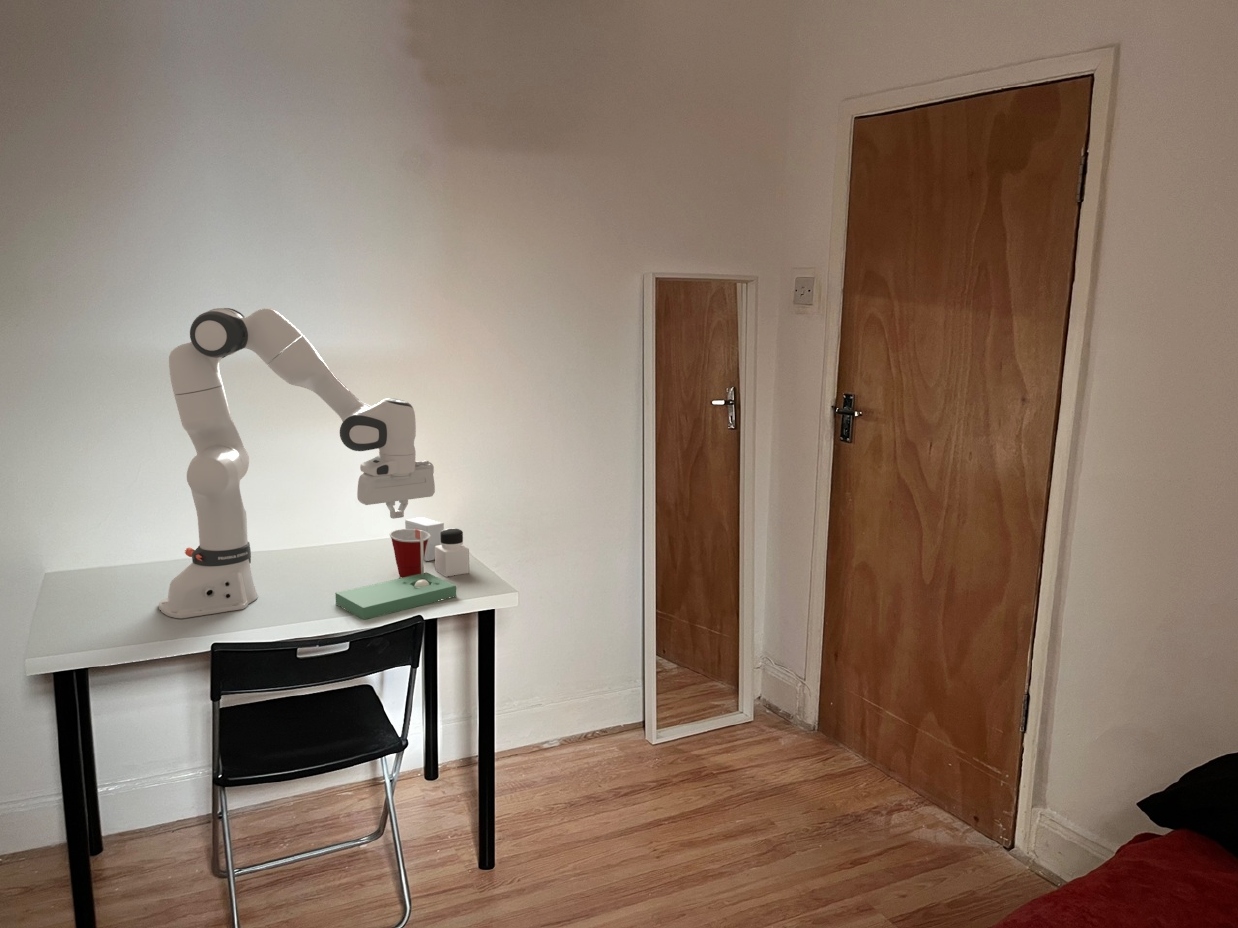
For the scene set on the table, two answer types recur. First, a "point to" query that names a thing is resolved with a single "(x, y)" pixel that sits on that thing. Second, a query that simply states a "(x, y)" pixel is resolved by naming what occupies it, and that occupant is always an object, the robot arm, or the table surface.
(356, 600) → the putting deck
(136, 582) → the table surface
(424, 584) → the ball
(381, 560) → the table surface
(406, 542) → the plastic cup
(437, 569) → the medicine bottle
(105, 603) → the table surface
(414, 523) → the skincare box
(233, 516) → the robot arm
